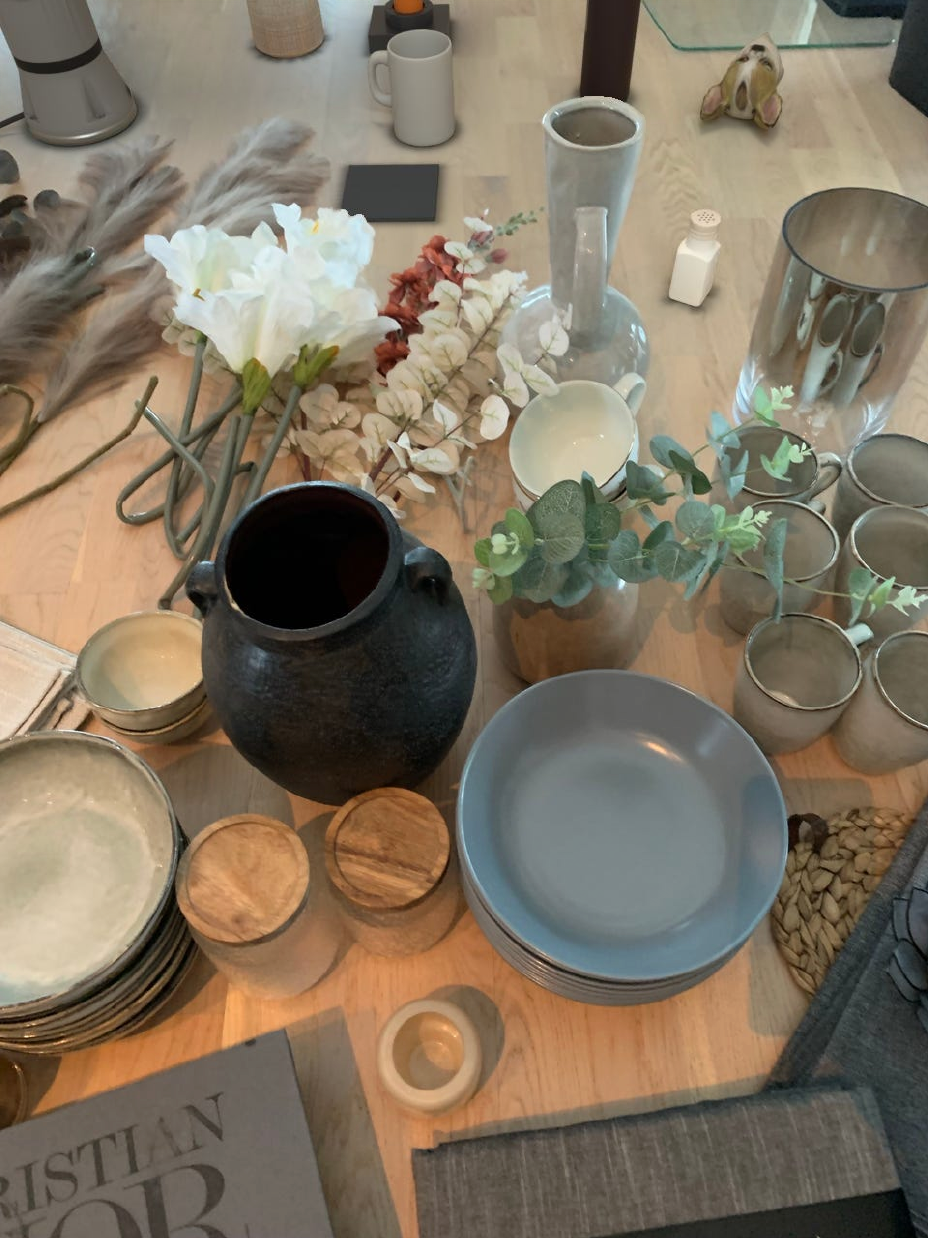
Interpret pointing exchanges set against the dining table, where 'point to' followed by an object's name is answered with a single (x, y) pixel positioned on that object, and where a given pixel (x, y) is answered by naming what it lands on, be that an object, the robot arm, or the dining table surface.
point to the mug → (418, 86)
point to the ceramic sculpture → (749, 86)
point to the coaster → (392, 192)
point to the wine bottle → (609, 47)
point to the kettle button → (408, 6)
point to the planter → (286, 26)
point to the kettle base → (405, 22)
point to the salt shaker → (696, 259)
